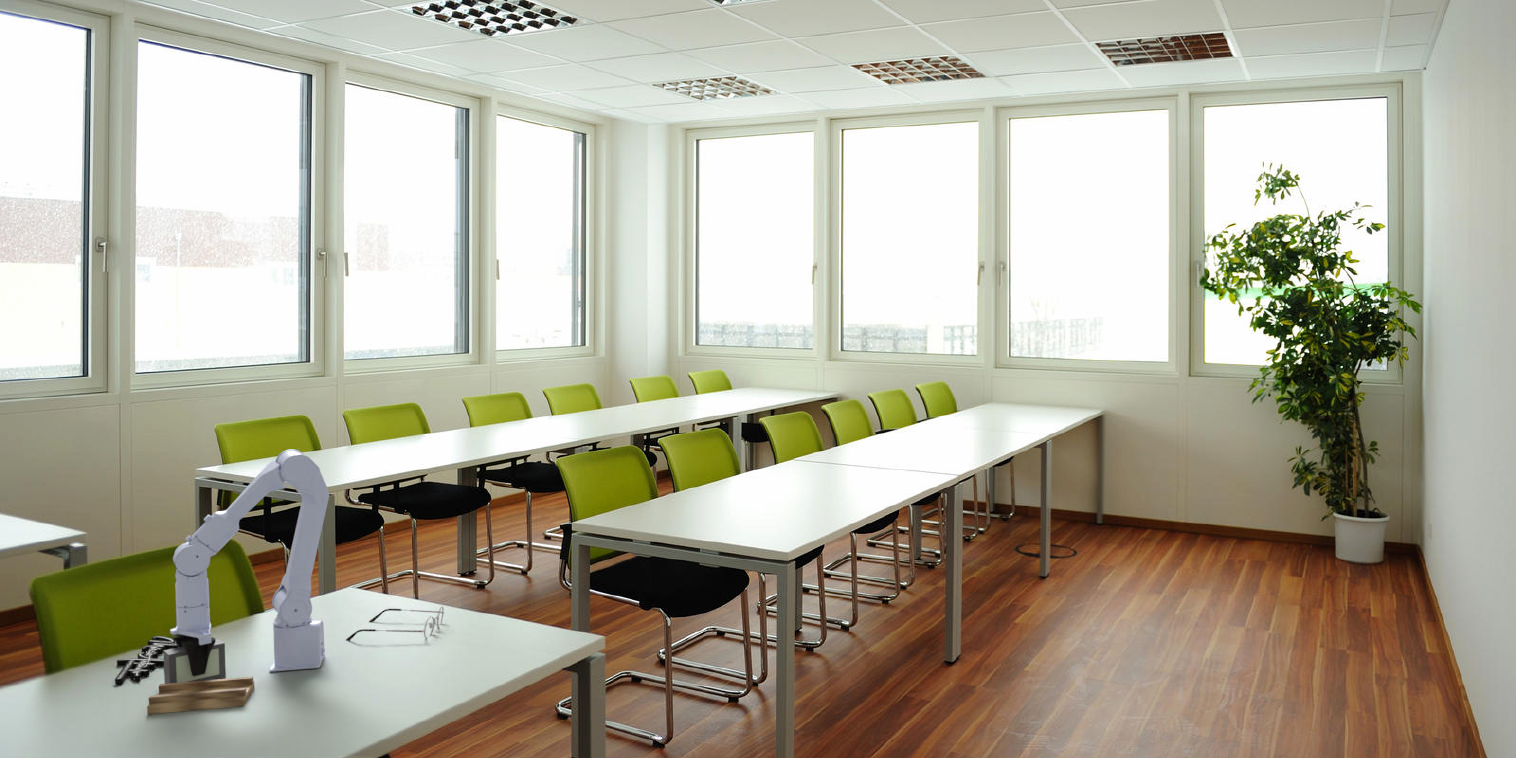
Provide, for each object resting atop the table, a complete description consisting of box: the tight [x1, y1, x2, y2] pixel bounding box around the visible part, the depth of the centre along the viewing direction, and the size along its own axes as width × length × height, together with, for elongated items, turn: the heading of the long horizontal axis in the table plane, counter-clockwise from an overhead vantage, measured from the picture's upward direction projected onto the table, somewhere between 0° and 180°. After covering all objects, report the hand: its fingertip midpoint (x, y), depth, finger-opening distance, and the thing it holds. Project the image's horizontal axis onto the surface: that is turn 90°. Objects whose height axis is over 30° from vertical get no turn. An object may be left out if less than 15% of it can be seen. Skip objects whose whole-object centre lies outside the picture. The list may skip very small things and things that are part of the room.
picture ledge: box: [146, 676, 255, 715], centre depth 194 cm, size 16×9×3 cm, turn 105°
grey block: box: [162, 638, 227, 684], centre depth 204 cm, size 10×4×7 cm, turn 135°
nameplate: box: [114, 635, 178, 686], centre depth 215 cm, size 27×2×10 cm
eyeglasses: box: [345, 605, 445, 641], centre depth 236 cm, size 16×19×5 cm
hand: (195, 671), depth 204 cm, fingers closed on grey block, 4 cm apart
